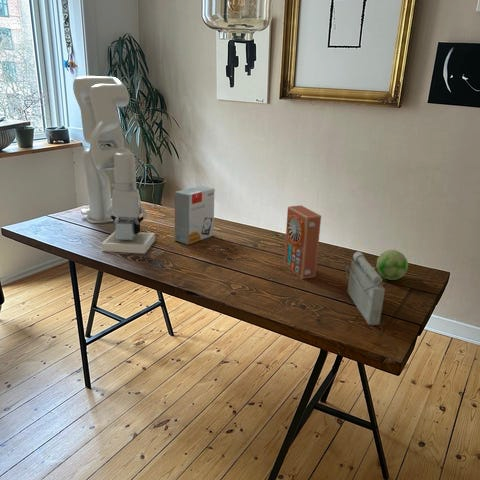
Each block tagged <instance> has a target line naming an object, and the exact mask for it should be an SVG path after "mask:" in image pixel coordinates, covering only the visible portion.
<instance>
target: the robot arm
mask: <svg viewBox="0 0 480 480" xmlns="http://www.w3.org/2000/svg"><path fill="white" fill-rule="evenodd" d="M72 90H73V94H74V98H75V100H76V102H77V104H78V107H79V111H80V116H81V117H80V118H81V126H82V133H83V138H84V141H85V142H86V143H88V144H89V148H86V149H84V150H83V151H82V153H81V158H82V164H83V167H84V172H85V177H86V179H85V180H86V188H87V189H86V190H87V199H88V209H87V208H82V209H80V213H81V215H86V222H88V223H92V224H106V223H111V222H114V223H116V222H117V221H119V220H120V219H121V218H122V217H123V218H134V220H135V222H136V224H135V234H136V235H137V234H138V233H139V232H141V223H142V222H143V221H144V220H145V219H146V218H147V217H148V216H149V213H148V212H147V211H146V210H145V209H144V208H143V207H142V201H141V196H140V191H139V189H137V176H136V175H137V172H136V156H135V154H134V153H133V152H132V151H131V150H130V149H129V148H127V147H124V146H125V145H124V143H125V142H124V135H123V134H124V133H123V129H122V125H121V120H120V116H119V113H118V110H117V108H121V107H122V108H124V107H127V106H128V105H129V102H130V95H129V91H128V89H127V86H126V85H125V84H124V83H123V82H122V81H121V80H120V79H118V78H117V77H114V76H103V75H102V76H101V75H100V76H98V75H97V76H96V75H84V76H83V75H82V76H78V77H76V78H74V79H73V83H72ZM103 144H110V146H100V145H103ZM106 170H113V174H114V177H113V178H114V181H112V182H111V181H110V178H109V176H108V175H107V174H106V173H105V172H104V171H106ZM111 187H114V189H112V190H111ZM111 191H112V195H111Z"/></svg>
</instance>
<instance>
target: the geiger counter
mask: <svg viewBox="0 0 480 480" xmlns="http://www.w3.org/2000/svg"><path fill="white" fill-rule="evenodd" d="M352 259H353V260H350V261H351V262H350V267H349V266H348V265H347V266H346V267H345V274H346V277H347V281H348V285H347V291H346V293H347V294H348V295H349V297H350V299H351V300H352V301H353V304H355V306H356V308H357V310H358V311H359V312H360V314H361V315H362V317H363V318H364V319H365V321H366V323H367V324H368V326H369V325H370V326H379V325H380V324H381V317H382V316H381V315H382V311H383V304H384V298H385V291H386V289H385V287H384V286H383V285H382V283H383V278H382V276H381V275H380V273H379V272H378V271H377V270H376V268H375V267H373V266H372V265H371V264H370V263H369V262H368V260H367V259H366V256H365V255H364V254H363V253H362V251H355V252H354V253H353V255H352ZM348 271H349V273H348Z"/></svg>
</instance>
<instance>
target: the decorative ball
mask: <svg viewBox="0 0 480 480" xmlns="http://www.w3.org/2000/svg"><path fill="white" fill-rule="evenodd" d="M376 269H377V270H376V271H377V273H378V274H379V275H380V276H381V278H382V277H383V278H384V279H386V280H389V281H395V280H399V279H402V278H403V277H404V276H405V275H406V273H407V271H408V269H409V263H408V259H407V258H406V256H405V255H404V254H403V253H402V252H400V251H399V250H396V249H389V250H385V251H383V252H382V253H381V254H380V255H379V256H378V257H377V260H376Z"/></svg>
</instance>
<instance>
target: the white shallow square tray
mask: <svg viewBox="0 0 480 480" xmlns="http://www.w3.org/2000/svg"><path fill="white" fill-rule="evenodd" d="M155 234H156V233H155V232H142V231H140V232H139V233H138V234H137V235H136V236H135V237H134V239H133V240H127V239H116V230H114V231H113V232H112V233H111V234H110V235H109V236H107V237H106V239H105V240H103V242H101V250H102V252H113V253H126V254H127V253H129V254H132V253H133V254H143V255H144V254H146V253H147V252H148V250H149V249H150V248H151V246H152V245H153V243H154V242H155V241H156V235H155Z"/></svg>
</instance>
